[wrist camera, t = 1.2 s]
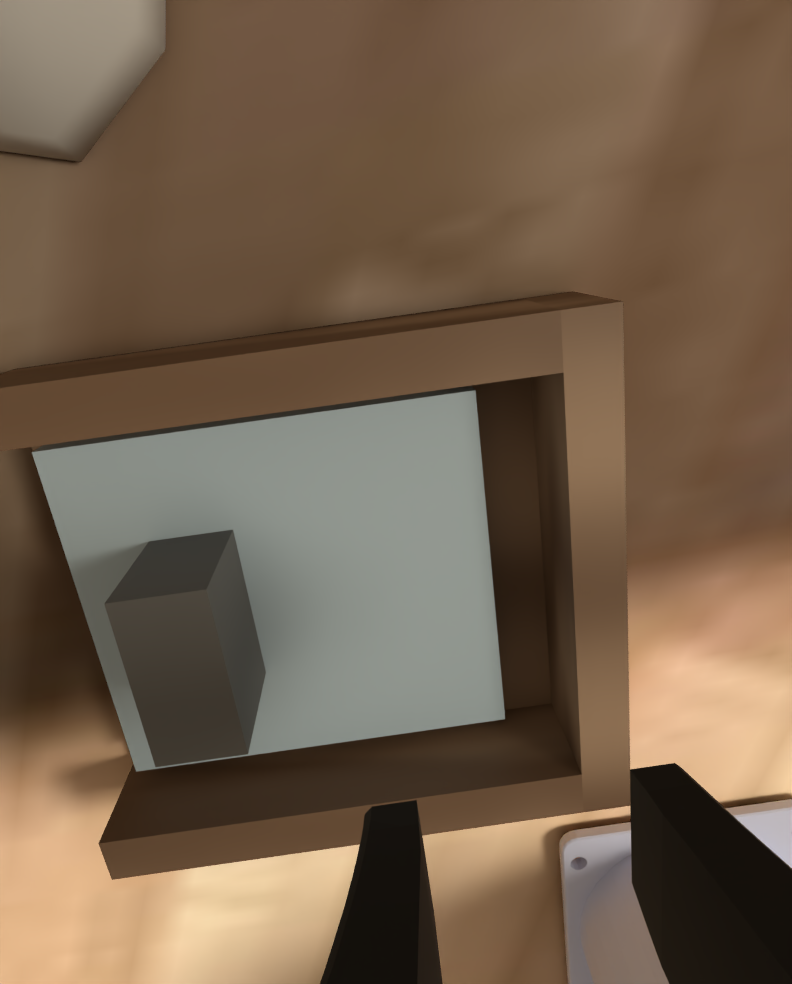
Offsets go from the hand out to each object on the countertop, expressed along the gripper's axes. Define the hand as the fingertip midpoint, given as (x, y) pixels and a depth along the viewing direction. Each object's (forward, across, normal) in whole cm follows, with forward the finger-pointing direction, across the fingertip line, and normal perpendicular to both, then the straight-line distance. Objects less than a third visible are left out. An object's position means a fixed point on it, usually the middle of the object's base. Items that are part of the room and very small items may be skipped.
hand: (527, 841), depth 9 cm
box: (+9, +4, 0) cm, 10 cm away
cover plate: (+9, +4, 0) cm, 10 cm away
